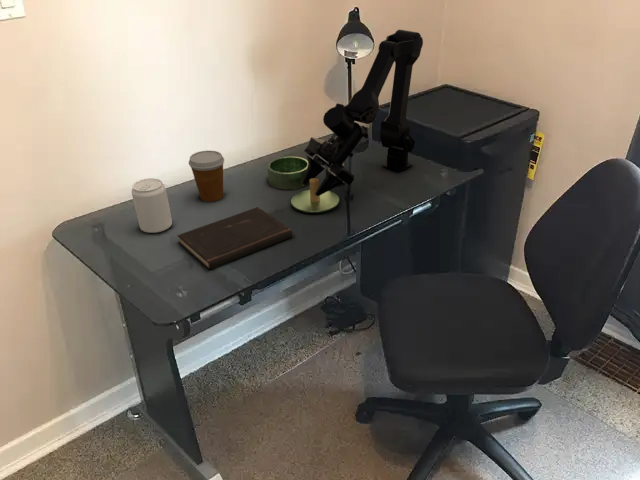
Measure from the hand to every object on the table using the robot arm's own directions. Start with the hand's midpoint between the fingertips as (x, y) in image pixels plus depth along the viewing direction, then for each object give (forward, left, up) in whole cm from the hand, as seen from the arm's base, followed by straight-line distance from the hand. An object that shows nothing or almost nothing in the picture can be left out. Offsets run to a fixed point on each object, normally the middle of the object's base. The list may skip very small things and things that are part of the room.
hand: (310, 189), depth 165 cm
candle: (-15, -5, -5) cm, 17 cm away
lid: (-1, 0, -4) cm, 4 cm away
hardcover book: (+26, -1, -5) cm, 26 cm away
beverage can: (+35, -22, -5) cm, 41 cm away
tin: (-7, -16, -5) cm, 18 cm away
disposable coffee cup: (+15, -25, -5) cm, 29 cm away
